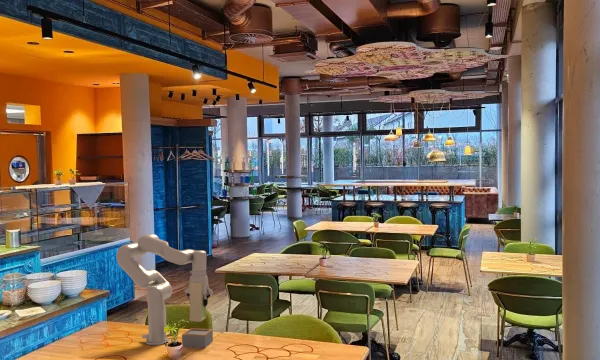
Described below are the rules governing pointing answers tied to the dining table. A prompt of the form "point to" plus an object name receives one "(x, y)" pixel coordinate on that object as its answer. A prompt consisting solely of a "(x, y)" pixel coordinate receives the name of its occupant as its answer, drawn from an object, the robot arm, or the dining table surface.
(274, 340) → the dining table surface
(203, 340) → the grey open box
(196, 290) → the toy refrigerator
